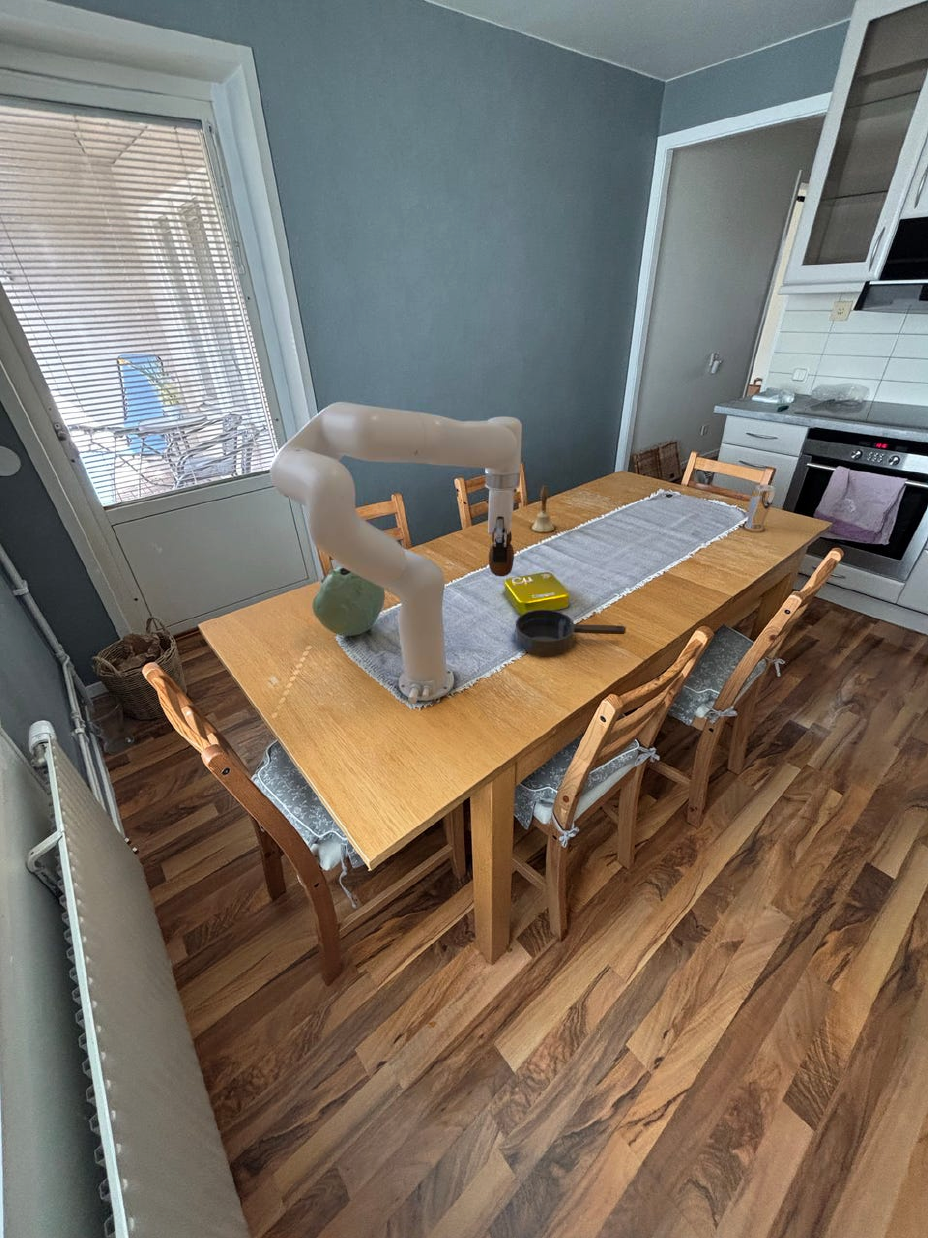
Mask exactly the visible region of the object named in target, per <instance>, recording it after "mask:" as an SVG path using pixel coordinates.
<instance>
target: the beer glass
mask: <svg viewBox="0 0 928 1238" xmlns="http://www.w3.org/2000/svg"><path fill="white" fill-rule="evenodd" d="M776 491H777V488H776V487H775V486H773V485H769V484H756V485H755V486H754V487H753V490H752V493H751V496H750V499H749V505H748V516H747V520H746V522H745V524H744V526H743V527H744V529H745V530H747V531H750V532H762V531H763V530H764V524H765V520H766V517H767V516H768V514H769V512H770V510H771V509H772V508H771V507H772V505H773V503H774V500H775V495H776Z"/></svg>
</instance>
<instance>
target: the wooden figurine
mask: <svg viewBox="0 0 928 1238" xmlns="http://www.w3.org/2000/svg"><path fill="white" fill-rule="evenodd" d="M503 523H504V518H503ZM496 532H497V529H496ZM502 532H505V530H503V531H502ZM502 538H503V539H504V535H502ZM512 540H513V534H512V531H511V530H510V533H509V534H507V540H506V545H507V562H506V563H504V562H493V545H494V532H493V533H491V542H492V543H493V544H492V545H491V546H490V548H489V550H488V551H489V552H488V566H489V569H490V572H491V574H492V575H494V576H496V577H500V578H501V577H503V578H504V577H507V576H508V575H510V574H511V572H512V571H513V567H514V561H515V551H514V550H515V549H514V546H513V544H512Z"/></svg>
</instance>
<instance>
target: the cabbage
mask: <svg viewBox="0 0 928 1238" xmlns="http://www.w3.org/2000/svg"><path fill="white" fill-rule="evenodd" d="M320 583H321V585H320V586H319V589H318V590H317V592H316V594H315V596H314V597H313V600H312V612H313V615H314V616H315V617H316V619H317V620H318V621H319V622H320V624H322V626H323V627H324V628H325V629H327V630H328V631H330V632H332V633H334V634H335V635H338V636H342V637H354V636H360V635H363V634H364V633H366V632H367V631H369V630H371V628H373V626H374V624H375V623H376V622H377V619H378V618H379V616H380V614H381V612H382V610H383V607H384V603H385V599H386V594H385V589H383V588H381V587H379V586H377V585H375V584H373V583H372V582H370V581H368V580H366V579H364V578H362V577H360V576H358V575H356V574H354V573H352V572H350V571H349V570H347V569H345V568H343V567H341V566H340V565H339V566H337V567H334V568H333V569H331V570H329V572H328V574H327V576H323V579H322V578H321V579H320Z"/></svg>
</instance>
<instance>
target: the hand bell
mask: <svg viewBox="0 0 928 1238" xmlns="http://www.w3.org/2000/svg"><path fill="white" fill-rule="evenodd" d="M548 497H549V492H548V486H547V485H542V488H541V491H540V501H541V508H540V512H539V513H537V515H536V520H535V522H534V523H533V524H532V526H531V529H532V530H533V531H534V532H536V533H549V532H552V531H553V530H555V527H554V524H552V522H551V517H550V514H549V513H548V512H547V501H548Z"/></svg>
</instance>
